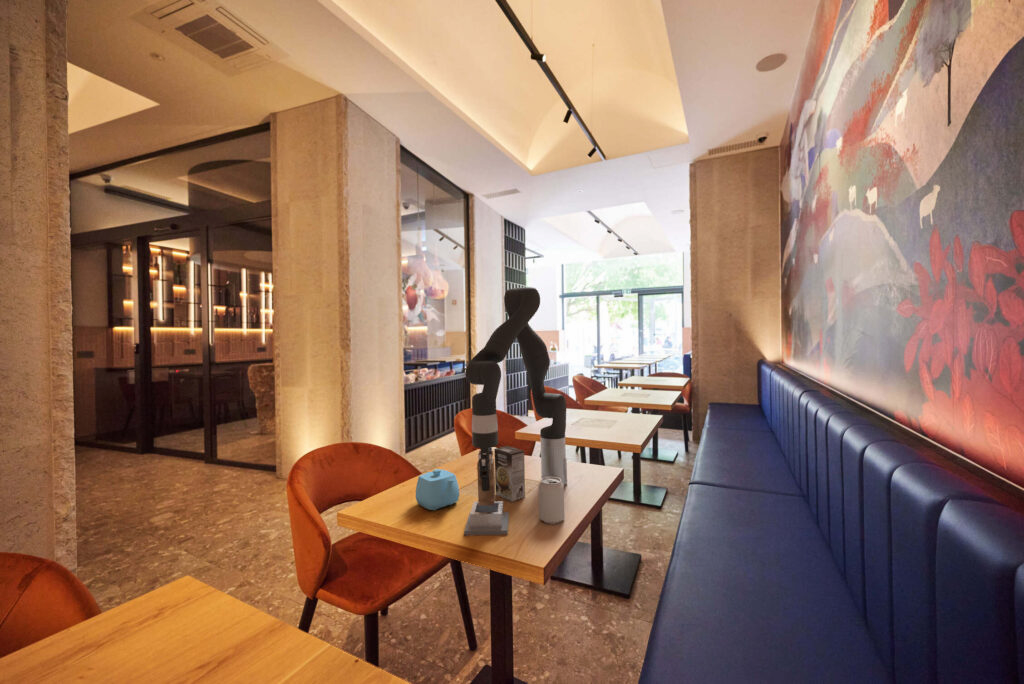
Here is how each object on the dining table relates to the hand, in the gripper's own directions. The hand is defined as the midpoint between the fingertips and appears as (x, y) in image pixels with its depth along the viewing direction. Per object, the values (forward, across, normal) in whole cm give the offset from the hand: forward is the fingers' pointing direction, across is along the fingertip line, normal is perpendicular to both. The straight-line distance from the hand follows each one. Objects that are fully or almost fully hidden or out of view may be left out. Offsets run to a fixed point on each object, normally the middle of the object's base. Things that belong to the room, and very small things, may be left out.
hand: (486, 487), depth 120 cm
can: (+11, +3, -19) cm, 22 cm away
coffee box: (+11, +22, -6) cm, 25 cm away
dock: (+11, 0, 0) cm, 11 cm away
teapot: (+11, +15, +17) cm, 25 cm away
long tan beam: (+4, 0, 0) cm, 4 cm away
